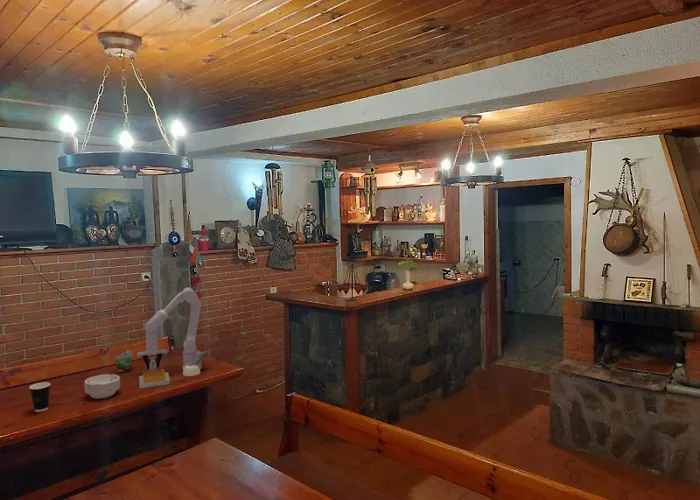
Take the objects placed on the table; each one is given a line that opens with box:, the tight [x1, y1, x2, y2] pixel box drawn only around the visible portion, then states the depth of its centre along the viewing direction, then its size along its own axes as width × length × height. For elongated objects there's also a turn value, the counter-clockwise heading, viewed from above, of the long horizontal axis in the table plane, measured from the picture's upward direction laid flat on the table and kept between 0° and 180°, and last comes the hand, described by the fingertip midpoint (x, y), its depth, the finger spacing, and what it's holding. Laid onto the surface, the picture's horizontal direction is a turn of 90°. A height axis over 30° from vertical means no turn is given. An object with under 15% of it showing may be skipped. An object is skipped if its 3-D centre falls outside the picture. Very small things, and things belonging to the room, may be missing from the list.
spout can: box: [148, 356, 159, 371], centre depth 270 cm, size 4×7×8 cm
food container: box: [114, 348, 134, 374], centre depth 276 cm, size 12×6×10 cm, turn 179°
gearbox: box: [138, 369, 171, 389], centre depth 257 cm, size 14×14×4 cm
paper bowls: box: [83, 373, 121, 400], centre depth 239 cm, size 15×15×8 cm
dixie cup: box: [29, 381, 51, 413], centre depth 222 cm, size 8×8×11 cm
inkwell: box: [182, 350, 211, 377], centre depth 273 cm, size 9×18×10 cm, turn 148°
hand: (153, 368), depth 271 cm, fingers closed on spout can, 4 cm apart
